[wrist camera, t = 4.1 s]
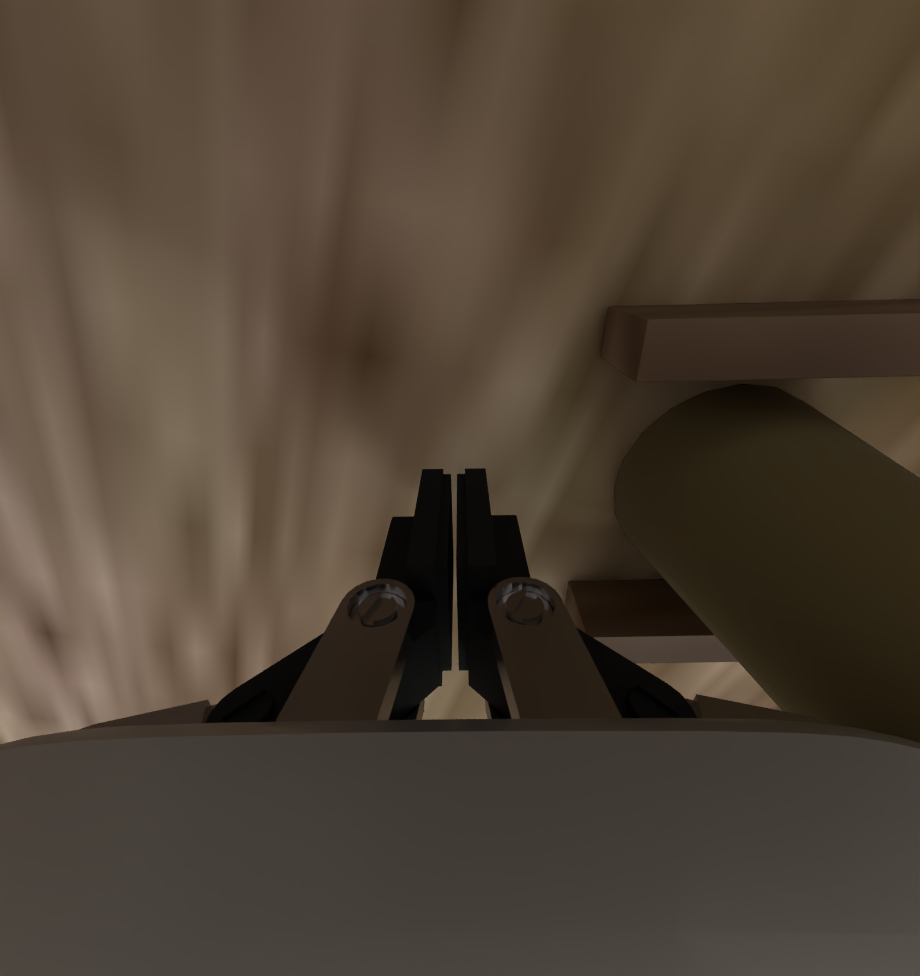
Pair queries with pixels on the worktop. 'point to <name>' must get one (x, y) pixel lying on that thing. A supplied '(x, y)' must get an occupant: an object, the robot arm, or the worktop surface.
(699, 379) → the slot track
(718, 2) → the worktop surface
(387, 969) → the robot arm
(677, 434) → the olive brown waisted cylinder
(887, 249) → the worktop surface
